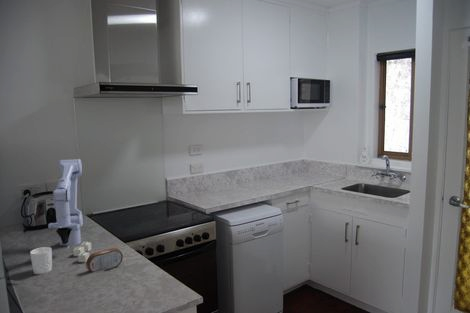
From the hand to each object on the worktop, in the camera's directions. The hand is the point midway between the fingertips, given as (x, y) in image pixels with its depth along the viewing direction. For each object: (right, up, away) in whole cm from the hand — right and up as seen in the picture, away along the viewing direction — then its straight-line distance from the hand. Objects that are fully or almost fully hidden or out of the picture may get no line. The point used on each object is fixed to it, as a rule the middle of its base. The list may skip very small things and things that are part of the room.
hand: (65, 243), depth 167 cm
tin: (+24, -8, -14) cm, 29 cm away
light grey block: (+7, -5, +6) cm, 10 cm away
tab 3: (+12, -6, -7) cm, 15 cm away
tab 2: (+7, -5, 0) cm, 8 cm away
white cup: (-2, -9, -16) cm, 18 cm away
